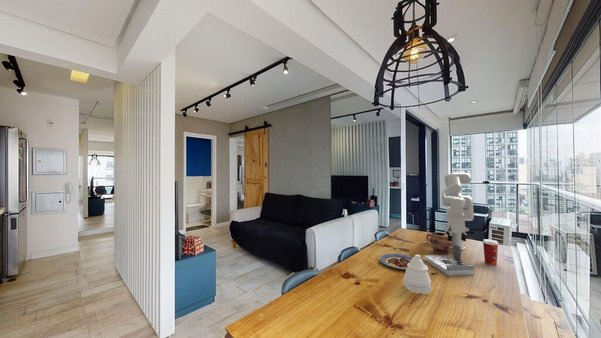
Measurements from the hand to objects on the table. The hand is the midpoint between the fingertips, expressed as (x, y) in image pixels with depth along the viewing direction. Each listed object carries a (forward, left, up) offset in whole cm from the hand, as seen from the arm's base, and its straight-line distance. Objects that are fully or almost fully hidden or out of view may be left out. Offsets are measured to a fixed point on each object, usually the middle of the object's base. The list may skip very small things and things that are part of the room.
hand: (456, 240), depth 156 cm
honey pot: (+31, -48, -14) cm, 59 cm away
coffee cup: (+6, +18, -14) cm, 24 cm away
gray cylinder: (-1, 0, -14) cm, 14 cm away
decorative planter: (-18, -1, -14) cm, 22 cm away
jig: (+8, -14, -14) cm, 21 cm away
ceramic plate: (0, -41, -14) cm, 43 cm away
